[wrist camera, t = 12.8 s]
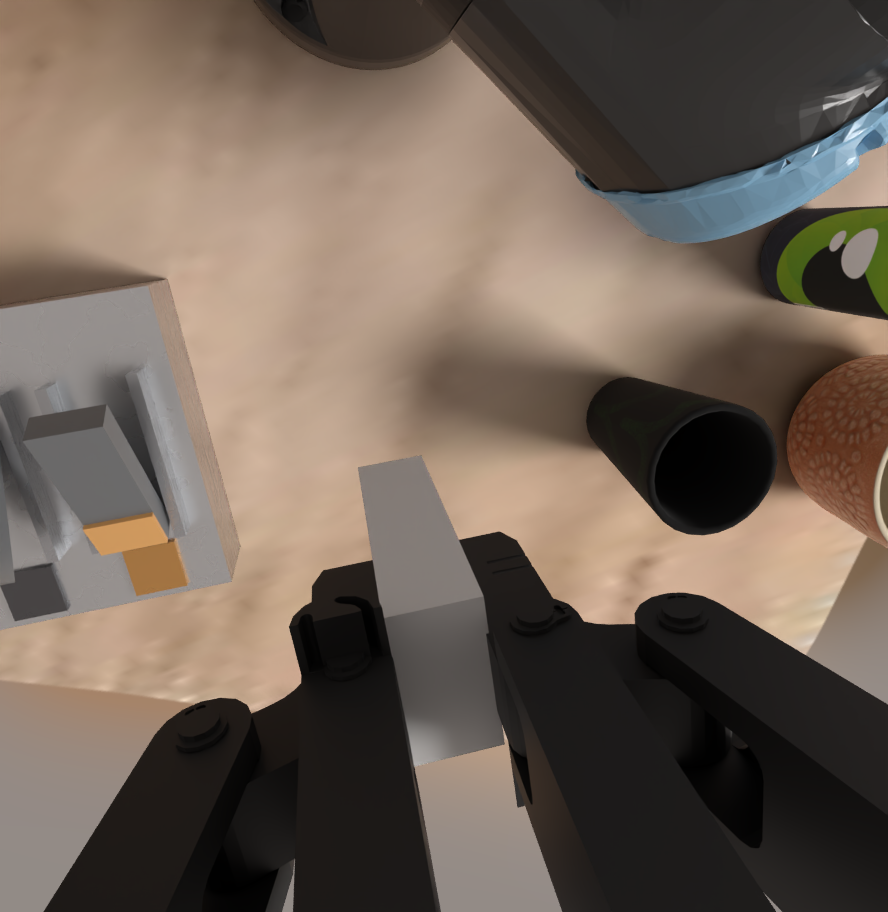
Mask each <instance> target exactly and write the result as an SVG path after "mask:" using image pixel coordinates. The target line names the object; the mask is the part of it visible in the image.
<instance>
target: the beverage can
mask: <svg viewBox="0 0 888 912" xmlns="http://www.w3.org/2000/svg"><path fill="white" fill-rule="evenodd" d="M760 270H761V276H762V280H763V282H764V285H765V287H766V288H767V290H768V291H769V292H770V294H771V295H772V296H774V297H775V298H776V299H778V300H779V301H782V302H784V303H788V304H793V305H799V306H805V307H811V308H817V309H823V310H829V311H835V312H841V313H847V314H853V315H859V316H865V317H871V318H877V319H884V320H888V206H875V207H847V208H818V209H804V210H800V211H797V212H794V213H792V214H790V215H788V216H787V217H785V218H784V219H783V220H781V221H780V222H779V223H778V224H777V225H776V226H775V228H774V229H773V230H772V231H771V233H770V234H769V236H768V238H767V240H766V242H765V244H764V247H763V250H762V254H761V261H760Z"/></svg>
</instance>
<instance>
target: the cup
mask: <svg viewBox="0 0 888 912" xmlns="http://www.w3.org/2000/svg"><path fill="white" fill-rule="evenodd" d="M586 422H587V428H588V432H589V434H590V436H591V438H592V440H593V441H594V442H595V443H596V445H597V446H598V447H599V448H600V449H601V450H602V451H603V453H604V454H605V455H606V456H607V457H608V458H609V460H610V461H611V462H612V463H613V464H614V465H615V466H616V468H617V469H618V470H619V471H620V472H621V473H622V475H623V476H624V477H625V478H626V479H627V480H628V481H629V483H630V484H631V485H632V486H633V487H634V488H635V490H636V491H637V492H638V493H639V494H640V495H641V496H642V498H643V499H644V500H645V501H646V502H647V503H648V505H649V506H650V507H651V508H652V509H653V510H654V511H655V513H656V514H657V515H658V516H659V517H660V518H661V520H662V521H663V522H664V523H666V524H667V525H669V526H670V527H672V528H673V529H675V530H677V531H680V532H683V533H686V534H691V535H708V534H714V533H719V532H721V531H724V530H726V529H729V528H731V527H733V526H735V525H736V524H738V523H739V522H741V521H742V520H744V519H745V518H747V517H748V516H749V515H750V514H751V513H752V512H753V511H754V510H755V509H756V508H757V507H758V506H759V504H760V503H761V502H762V500H763V499H764V497H765V496H766V494H767V493H768V491H769V488H770V486H771V484H772V481H773V479H774V476H775V470H776V465H777V447H776V443H775V440H774V437H773V434H772V431H771V430H770V428H769V427H768V425H767V424H766V422H765V421H764V420H763V419H762V418H761V417H760V416H759V415H757V414H756V413H755V412H754V411H752V410H750V409H747V408H745V407H742V406H740V405H737V404H733V403H729V402H725V401H721V400H717V399H714V398H710V397H706V396H702V395H698V394H695V393H691V392H687V391H683V390H679V389H675V388H672V387H668V386H664V385H660V384H656V383H652V382H649V381H645V380H641V379H637V378H629V377H627V378H619V379H616V380H614V381H611V382H609V383H608V384H606V385H605V386H603V387H602V388H601V389H600V390H599V391H598V392H597V393H596V394H595V396H594V398H593V399H592V401H591V403H590V405H589V408H588V411H587V420H586Z"/></svg>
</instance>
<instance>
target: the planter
mask: <svg viewBox="0 0 888 912" xmlns="http://www.w3.org/2000/svg"><path fill="white" fill-rule="evenodd" d="M787 456H788V462H789V465H790V468H791V471H792V473H793V476H794V478H795V480H796V481H797V483H798V484H799V486H800V487H801V489H802V490H803V491H804V492H805V493H806V494H807V495H808V496H809V497H810V498H811V499H812V500H813V501H815V502H816V503H817V504H818V505H820V506H821V507H822V508H824V509H825V510H827V511H828V512H830V513H832V514H833V515H835V516H837V517H838V518H840V519H841V520H843V521H845V522H846V523H848V524H849V525H851V526H852V527H854V528H855V529H857V530H858V531H860V532H861V533H863V534H865V535H866V536H868V537H870V538H871V539H873V540H874V541H876V542H878V543H880V544H881V545H883V546H884V547H886V548H888V355H873V356H867V357H862V358H858V359H855V360H852V361H849V362H846V363H844V364H842V365H840V366H838V367H836V368H834V369H833V370H831V371H830V372H828V373H827V374H825V375H824V376H823V377H821V378H820V379H819V380H818V381H817V382H816V383H815V384H814V385H813V386H812V387H811V388H810V389H809V390H808V391H807V392H806V394H805V395H804V396H803V398H802V399H801V401H800V402H799V404H798V406H797V408H796V410H795V412H794V414H793V416H792V419H791V422H790V426H789V430H788V435H787Z"/></svg>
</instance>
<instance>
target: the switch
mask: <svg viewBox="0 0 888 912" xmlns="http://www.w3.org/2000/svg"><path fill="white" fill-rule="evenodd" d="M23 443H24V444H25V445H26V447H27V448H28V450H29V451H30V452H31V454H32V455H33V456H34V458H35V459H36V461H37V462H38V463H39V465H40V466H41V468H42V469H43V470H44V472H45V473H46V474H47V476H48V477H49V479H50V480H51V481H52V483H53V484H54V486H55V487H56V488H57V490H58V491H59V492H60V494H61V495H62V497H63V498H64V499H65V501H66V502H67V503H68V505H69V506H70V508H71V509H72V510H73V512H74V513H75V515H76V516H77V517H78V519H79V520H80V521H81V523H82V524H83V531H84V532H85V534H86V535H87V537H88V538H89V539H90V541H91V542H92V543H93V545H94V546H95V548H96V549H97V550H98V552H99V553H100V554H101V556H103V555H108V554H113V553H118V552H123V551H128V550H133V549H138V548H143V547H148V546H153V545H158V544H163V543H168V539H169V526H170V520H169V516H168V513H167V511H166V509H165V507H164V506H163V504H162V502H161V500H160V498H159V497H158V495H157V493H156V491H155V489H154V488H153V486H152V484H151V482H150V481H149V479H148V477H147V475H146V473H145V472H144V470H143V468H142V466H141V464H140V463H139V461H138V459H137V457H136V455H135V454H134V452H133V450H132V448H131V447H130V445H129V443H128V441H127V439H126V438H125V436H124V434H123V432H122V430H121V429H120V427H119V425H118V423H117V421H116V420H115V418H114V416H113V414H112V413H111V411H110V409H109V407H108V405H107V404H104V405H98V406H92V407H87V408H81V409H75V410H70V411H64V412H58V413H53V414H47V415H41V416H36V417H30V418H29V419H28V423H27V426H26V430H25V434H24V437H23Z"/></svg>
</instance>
